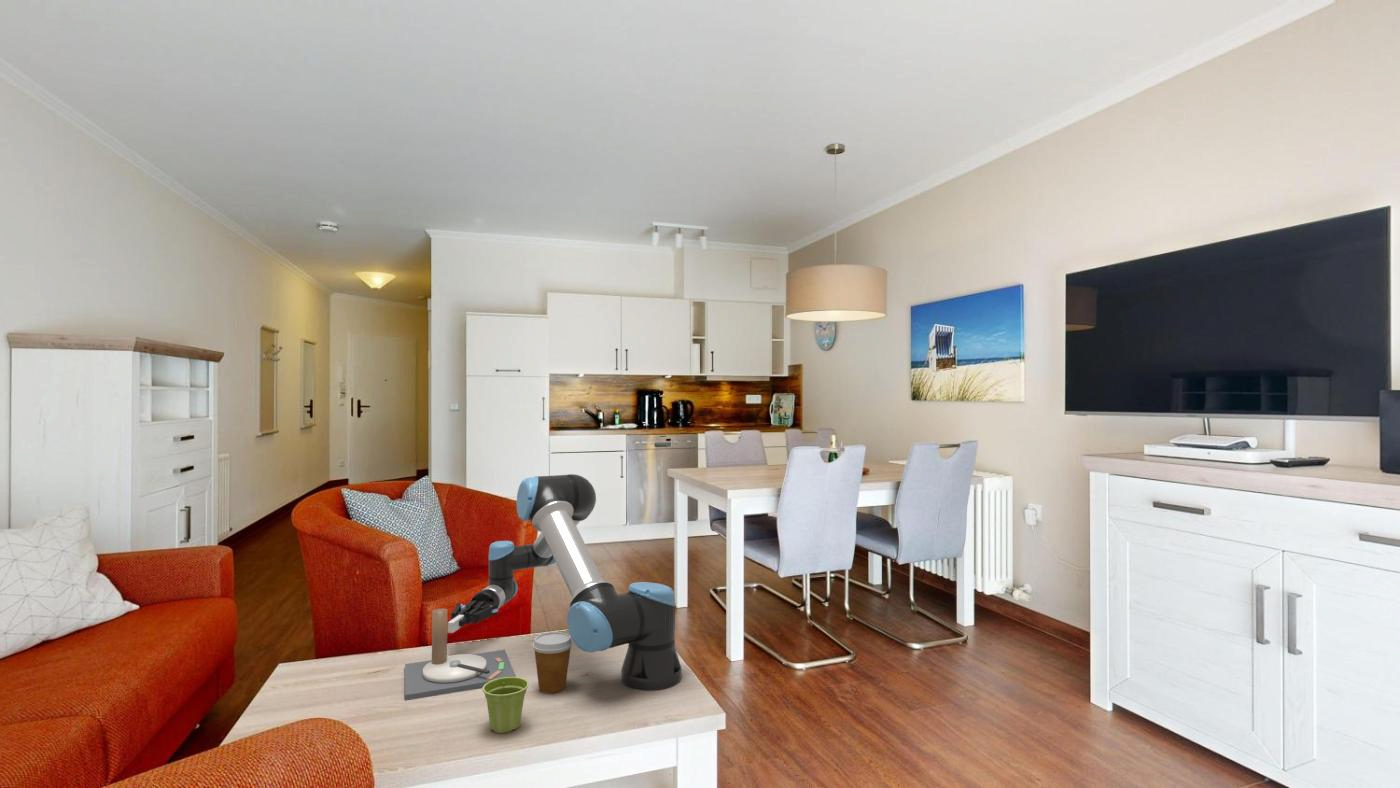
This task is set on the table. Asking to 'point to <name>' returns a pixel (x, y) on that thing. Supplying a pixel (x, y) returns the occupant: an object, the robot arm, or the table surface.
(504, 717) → the plant pot
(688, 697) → the table surface
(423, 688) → the dial plate
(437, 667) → the post on round base
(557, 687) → the disposable coffee cup
